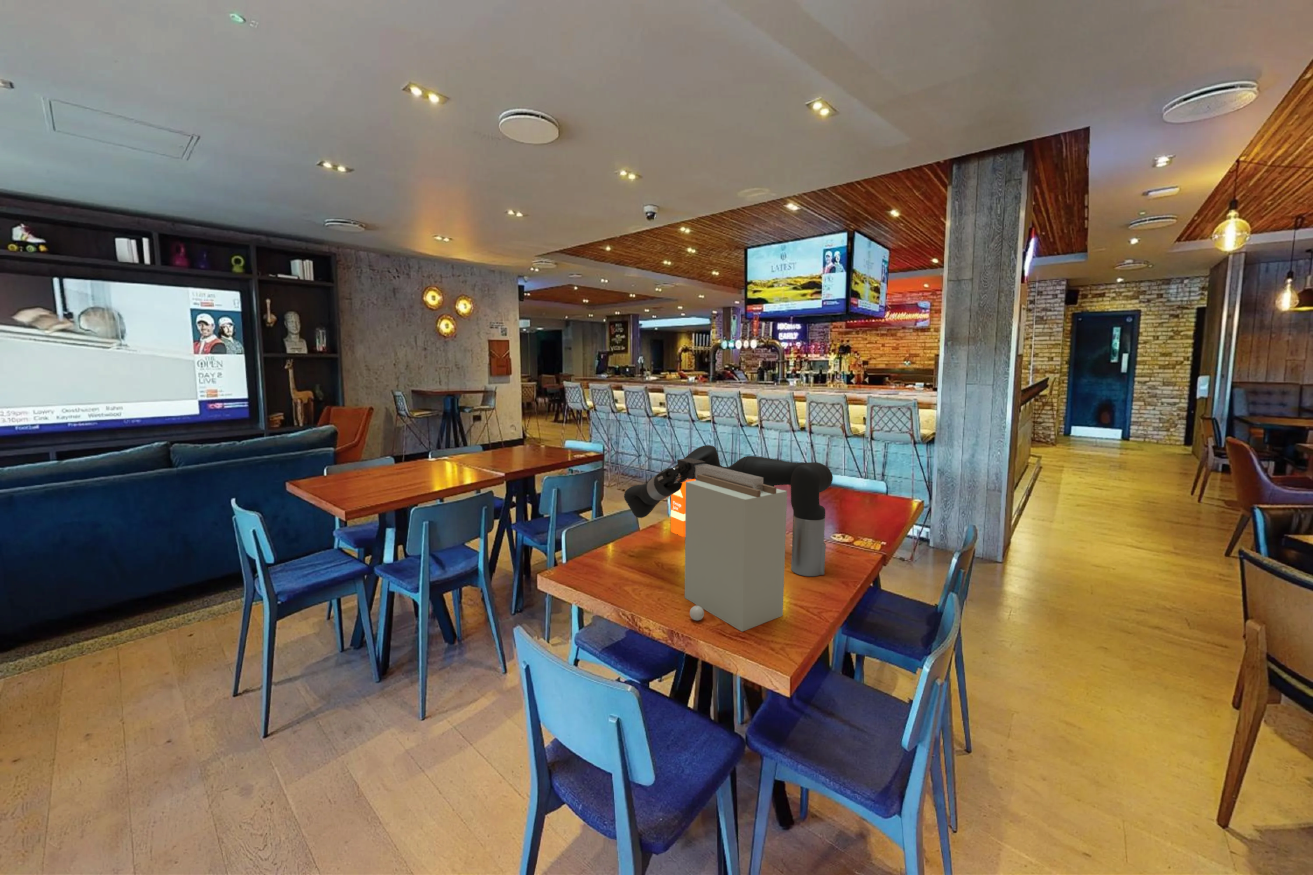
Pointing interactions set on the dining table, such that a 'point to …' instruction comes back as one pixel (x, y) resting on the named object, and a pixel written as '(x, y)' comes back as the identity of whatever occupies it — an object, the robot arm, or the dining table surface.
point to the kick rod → (720, 473)
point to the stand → (735, 550)
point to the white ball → (696, 613)
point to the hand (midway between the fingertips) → (695, 464)
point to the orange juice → (679, 510)
